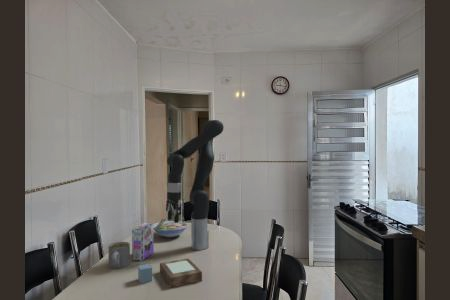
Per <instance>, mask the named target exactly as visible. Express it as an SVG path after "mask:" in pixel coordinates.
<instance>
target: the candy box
mask: <svg viewBox="0 0 450 300" xmlns="http://www.w3.org/2000/svg"><path fill="white" fill-rule="evenodd" d="M153 225H154V222H153V223H152V222H151V223H150V222H142V224H140V225H138V226H136V227H135V228H132V231H131V232H132V233H131V239H132V240H131V241H132V244H131V245H132V247H131V248H132V250H131V251H132V252H131V253H132V255H131V256H132V257H131V258H132V259H131V261H137V262H144V260H146V259H147V258H148V257H150V256H151V255H152V254H153V253H155V250H154V246H155V245H154V229H153Z"/></svg>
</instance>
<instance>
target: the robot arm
mask: <svg viewBox="0 0 450 300" xmlns="http://www.w3.org/2000/svg"><path fill="white" fill-rule="evenodd" d="M224 127H225V126H224V123H223V122H222V121H221V120H219V119H211V120H207V121H206V122H205V123H204V125H203V128H202V133H201V134H199V135H197V136H195V137H193V138H191V139H190V140H188V141H187V142H186V143H185V144H184V145H183V146H181V147H180V148H179V149H177V150H175V151H174V152H172V153H170V154H169V155H168V157H167V158H166V163H167V165H168V166H169V167H171V171H170V172H168V178H167V182H168V183H167V188H166V189H167V191H166V192H167V193H166V205H165V211H166V213H167V221H171V220H172V219H173V221H174V222H175V223H178V222H179V221H180V220H179V219H180V216H181V215H182V203H181V202H179V201H181V200H182V174H183V172H184V167H185V159H188V158H190V157H192V156H193V155H194V154H195V153H196V152H197V151H198V150H199V154H198V159H197V163H196V171H195V175H194V180H193V183H192V187H191V190H190V193H189V201H190V203H191V204H192V205H193V211H192V212H191V216H190V217H191V218H190V219H191V220H190V221H191V225H190V226H191V230H190V231H191V236H190V238H191V239H190V240H191V243H190V244H191V249H192V250H194V251H196V250H197V251H201V250H202V251H203V250H206V249H208V248H209V247H210V245H209V243H210V242H209V239H210V238H209V237H210V233H209V230H208V214H209V208H210V207H209V206H210V197H209V195H208V192H206V191H205V186H206V182H207V179H208V178H209V176H210V175H211V173H212V171H213V166H214V163H215V153H214V148H213V143H214V139H215V138H217V137H218V136H219V135H221V134H222V133H223V131H224ZM173 215H174V216H173ZM173 217H174V218H173Z"/></svg>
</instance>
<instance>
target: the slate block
mask: <svg viewBox="0 0 450 300" xmlns="http://www.w3.org/2000/svg"><path fill="white" fill-rule="evenodd" d="M137 271H138V272H137V276H138V277H137V278H138V283H139V284H145V283H150V282H153V267H152V265H151V264H150V263H146V264H140V265H138V267H137Z"/></svg>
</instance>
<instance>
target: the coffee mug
mask: <svg viewBox="0 0 450 300" xmlns="http://www.w3.org/2000/svg"><path fill="white" fill-rule="evenodd" d="M130 246H131V245H130V242H128V241H116V242H112V243H110V244H109V245H108V268H109V269H113V270H118V269H119V270H120V269H123V268H124V269H125V268H127V267H129V266H130V264H131V256H130V255H131V253H130V252H131V249H130V248H131V247H130Z"/></svg>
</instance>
